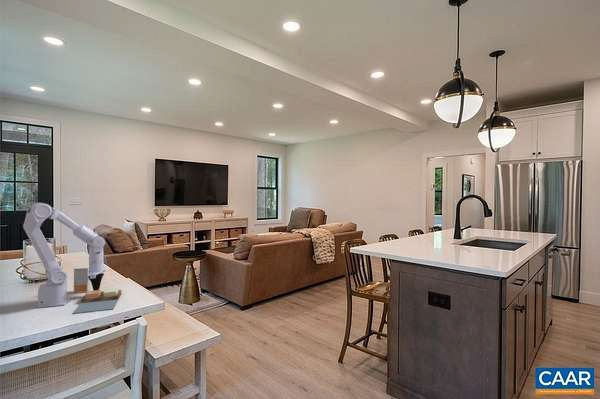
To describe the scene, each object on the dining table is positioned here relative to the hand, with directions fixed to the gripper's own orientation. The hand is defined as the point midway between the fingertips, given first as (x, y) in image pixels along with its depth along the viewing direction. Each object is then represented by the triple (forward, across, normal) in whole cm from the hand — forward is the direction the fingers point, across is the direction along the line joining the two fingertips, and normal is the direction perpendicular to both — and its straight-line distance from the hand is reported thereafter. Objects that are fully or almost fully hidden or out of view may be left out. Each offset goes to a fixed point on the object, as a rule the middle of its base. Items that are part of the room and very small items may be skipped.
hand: (96, 289), depth 146 cm
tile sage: (+1, -6, -7) cm, 9 cm away
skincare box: (+3, +9, +8) cm, 12 cm away
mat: (+3, -16, -4) cm, 17 cm away
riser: (+3, -6, -4) cm, 7 cm away
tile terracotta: (+1, -6, 0) cm, 6 cm away
